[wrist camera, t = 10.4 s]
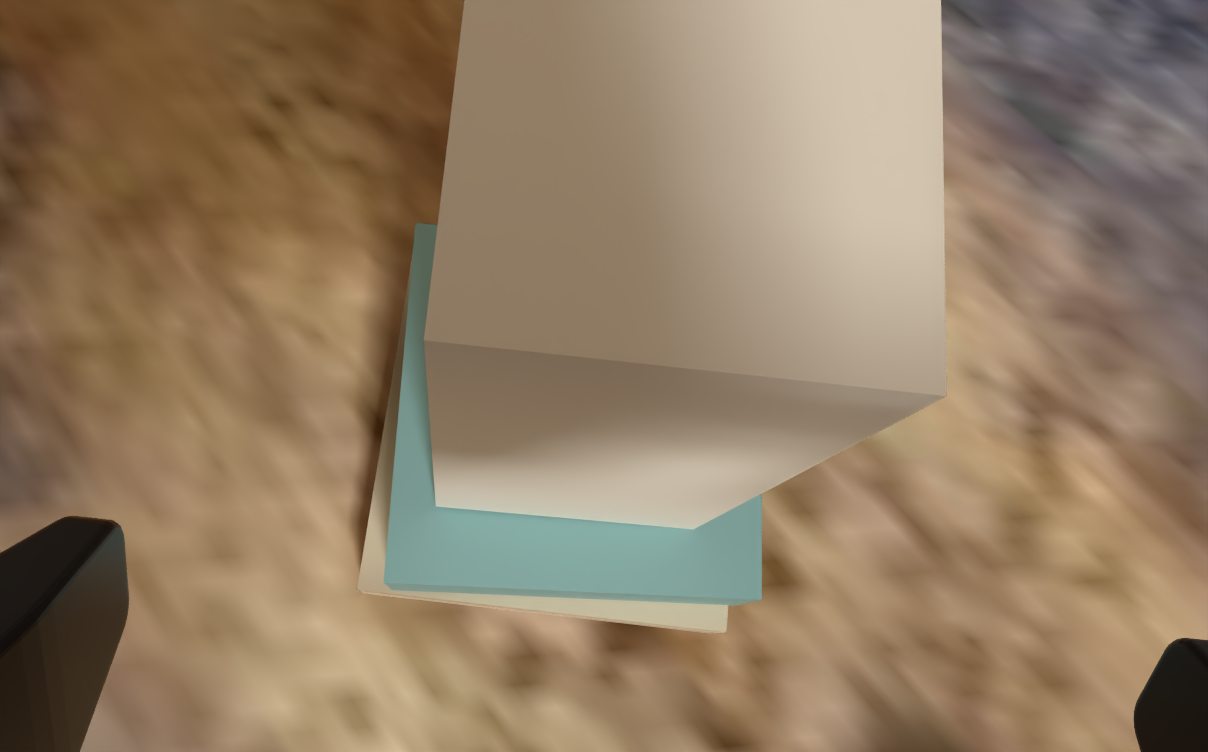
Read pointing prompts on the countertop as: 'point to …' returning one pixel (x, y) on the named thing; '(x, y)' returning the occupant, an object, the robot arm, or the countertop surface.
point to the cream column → (682, 250)
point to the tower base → (618, 611)
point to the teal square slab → (543, 522)
